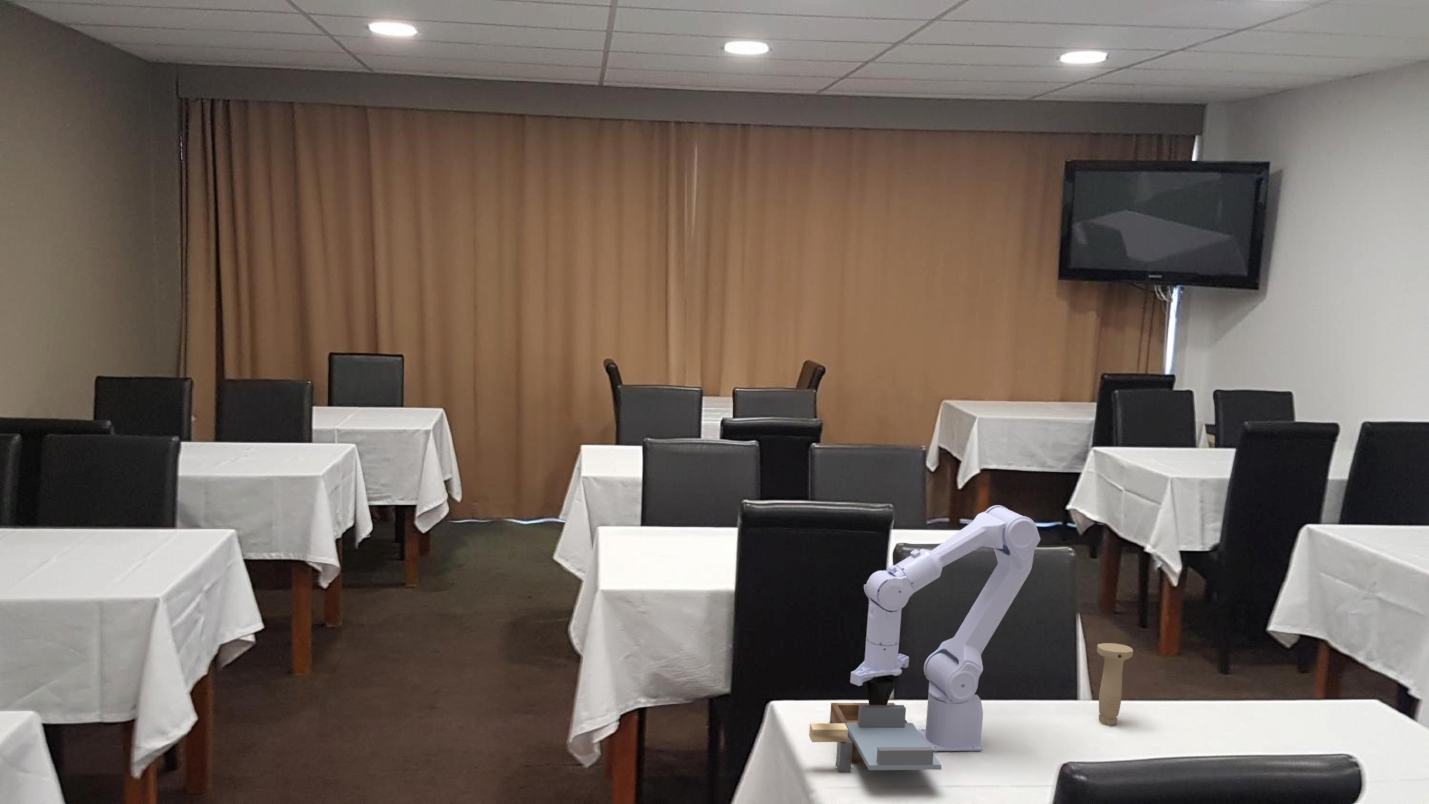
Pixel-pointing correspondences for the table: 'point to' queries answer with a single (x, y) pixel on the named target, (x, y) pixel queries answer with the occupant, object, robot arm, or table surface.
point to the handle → (1111, 680)
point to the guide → (844, 756)
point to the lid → (890, 740)
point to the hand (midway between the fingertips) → (876, 713)
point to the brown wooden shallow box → (848, 721)
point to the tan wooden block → (828, 732)
